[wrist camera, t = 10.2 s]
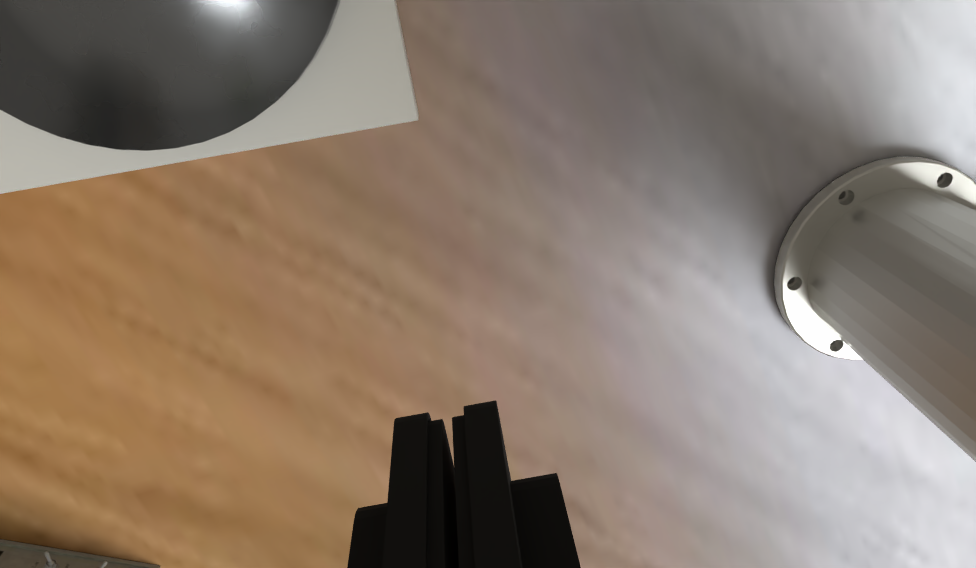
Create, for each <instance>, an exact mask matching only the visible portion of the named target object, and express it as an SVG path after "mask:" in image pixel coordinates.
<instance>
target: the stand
mask: <svg viewBox="0 0 976 568" xmlns="http://www.w3.org/2000/svg"><path fill="white" fill-rule="evenodd" d="M418 117H419V113H418V108H417V103H416V98H415V93H414V88H413V83H412V78H411V73H410V68H409V63H408V58H407V53H406V48H405V43H404V38H403V33H402V28H401V23H400V18H399V13H398V8H397V3H396V0H341V1H340V5H339V7H338V10H337V13H336V15H335V18H334V21H333V23H332V26H331V29H330V31H329V33H328V35H327V37H326V39H325V41H324V43H323V45H322V46H321V48H320V50H319V52H318V54H317V56H316V57H315V59H314V60H313V61H312V63H311V64H310V65H309V67H308V68H307V69H306V71H305V72H304V74H303V75H302V76H301V78H300V79H299V80H298V81H297V82H296V83H295V84H294V85H293V86H292V87H291V88H290V89H289V90H288V91H287V92H286V93H285V94H284V95H283V96H282V97H281V98H280V99H279V100H278V101H276V102H275V103H274V104H273V105H271V106H270V107H269V108H267V109H266V110H265V111H263V112H262V113H261V114H259V115H258V116H257V117H256V118H254V119H253V120H251V121H249V122H247V123H246V124H244V125H242V126H240V127H238V128H236V129H235V130H233V131H231V132H229V133H226V134H224V135H221V136H218V137H216V138H213V139H210V140H208V141H205V142H202V143H197V144H193V145H189V146H184V147H180V148H174V149H162V150H151V151H140V150H117V149H111V148H105V147H99V146H92V145H87V144H83V143H80V142H76V141H73V140H69V139H66V138H62V137H58V136H56V135H53V134H51V133H48V132H46V131H43V130H41V129H38V128H36V127H33V126H31V125H28V124H26V123H24V122H22V121H21V120H19V119H17V118H15V117H13V116H11V115H9V114H7V113H5V112H3V111H2V110H0V194H2V193H7V192H13V191H19V190H24V189H30V188H36V187H42V186H47V185H53V184H59V183H64V182H70V181H76V180H81V179H87V178H93V177H98V176H104V175H110V174H115V173H121V172H127V171H132V170H138V169H144V168H149V167H155V166H161V165H166V164H172V163H178V162H184V161H189V160H195V159H201V158H206V157H212V156H218V155H223V154H229V153H235V152H240V151H246V150H252V149H257V148H263V147H269V146H274V145H280V144H286V143H291V142H297V141H303V140H309V139H314V138H320V137H326V136H331V135H337V134H343V133H348V132H354V131H360V130H365V129H371V128H377V127H382V126H388V125H394V124H399V123H405V122H411V121H416V120H418Z"/></svg>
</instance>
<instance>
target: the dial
mask: <svg viewBox="0 0 976 568" xmlns="http://www.w3.org/2000/svg"><path fill="white" fill-rule="evenodd" d="M340 1H341V0H0V110H2V111H3V112H5V113H7V114H9V115H11V116H13V117H15V118H17V119H19V120H21V121H22V122H24V123H26V124H28V125H31V126H33V127H36V128H38V129H41V130H43V131H46V132H48V133H51V134H53V135H56V136H58V137H62V138H66V139H69V140H73V141H76V142H80V143H83V144H87V145H92V146H99V147H105V148H111V149H117V150H140V151H151V150H162V149H174V148H180V147H184V146H189V145H193V144H197V143H202V142H205V141H208V140H210V139H213V138H216V137H218V136H221V135H224V134H226V133H229V132H231V131H233V130H235V129H236V128H238V127H240V126H242V125H244V124H246V123H247V122H249V121H251V120H253V119H254V118H256V117H257V116H258V115H259V114H261V113H262V112H263V111H265V110H266V109H267V108H269V107H270V106H271V105H273V104H274V103H275V102H276V101H278V100H279V99H280V98H281V97H282V96H283V95H284V94H285V93H286V92H287V91H288V90H289V89H290V88H291V87H292V86H293V85H294V84H295V83H296V82H297V81H298V80H299V79H300V78H301V76H302V75H303V74H304V72H305V71H306V69H307V68H308V67H309V65H310V64H311V63H312V61H313V60H314V59H315V57H316V56H317V54H318V52H319V50H320V48H321V46H322V45H323V43H324V41H325V39H326V37H327V35H328V33H329V31H330V29H331V26H332V23H333V21H334V18H335V15H336V13H337V10H338V7H339V5H340Z"/></svg>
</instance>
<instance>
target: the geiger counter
mask: <svg viewBox="0 0 976 568" xmlns="http://www.w3.org/2000/svg"><path fill="white" fill-rule="evenodd" d="M0 568H160V566H159V565H154V564H148V563H142V562H136V561H130V560H124V559H118V558H112V557H105V556H99V555H93V554H87V553H81V552H75V551H69V550H63V549H57V548H51V547H45V546H39V545H32V544H26V543H20V542H14V541H8V540H2V539H0Z"/></svg>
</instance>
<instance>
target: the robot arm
mask: <svg viewBox="0 0 976 568" xmlns="http://www.w3.org/2000/svg"><path fill="white" fill-rule="evenodd" d="M774 288H775V295H776V302H777V304H778V307H779V309H780V312H781V314H782V317H783V318H784V320H785V321H786V322H787V324H788V325H789V327H790V328H791V330H792V331H793V332H795V333H796V334H797V335H798V336H799V337H800V338H801V339H802V340H803V341H804V342H805V343H806V344H808V345H809V346H811V347H812V348H814V349H815V350H817V351H819V352H821V353H824V354H826V355H828V356H831V357H836V358H842V359H848V360H864V361H865V362H866V363H867V364H868V365H870V366H871V367H872V368H873V369H874V370H875V371H876V372H877V373H878V374H880V375H881V376H882V377H883V378H884V379H885V380H886V381H887V382H888V383H889V384H891V385H892V386H893V387H894V388H895V389H896V390H897V391H898V392H899V393H900V394H902V395H903V396H904V397H905V398H906V399H907V400H908V401H909V402H910V403H911V404H913V405H914V406H915V407H916V408H917V409H918V410H919V411H920V412H921V413H923V414H924V415H925V416H926V417H927V418H928V419H929V420H930V421H931V422H932V423H934V424H935V425H936V426H937V427H938V428H939V429H940V430H941V431H942V432H943V433H945V434H946V435H947V436H948V437H949V438H950V439H951V440H952V441H953V442H954V443H956V444H957V445H958V446H959V447H960V448H961V449H962V450H963V451H964V452H966V453H967V454H968V455H969V456H970V457H971V458H972V459H973V460H974V461H975V462H976V183H975V182H974V181H973V179H972V178H970V177H969V176H967V175H966V174H964V173H963V172H961V171H960V170H958V169H957V168H954V167H952V166H949V165H947V164H944V163H942V162H939V161H936V160H931V159H927V158H923V157H902V156H899V157H893V158H887V159H882V160H877V161H874V162H871V163H868V164H866V165H863V166H860V167H857V168H855V169H853V170H852V171H850V172H848V173H846V174H844V175H842V176H841V177H839V178H837V179H835V180H834V181H833V182H832V183H830V184H829V185H828V186H826V187H825V188H824V189H823V190H821V191H820V192H819V193H817V195H816V196H815V197H814V198H813V199H812V200H811V201H810V202H809V203H808V204H807V205H806V206H805V207H804V208H803V209H802V210H801V212H800V213H799V215H798V216H797V218H796V219H795V221H794V222H793V223H792V225H791V226H790V228H789V230H788V232H787V234H786V236H785V238H784V240H783V243H782V245H781V247H780V250H779V254H778V258H777V261H776V265H775V277H774ZM452 426H453V448H454V465H453V461H452V456H451V452H450V447H449V443H448V439H447V434H446V430H445V426H444V422H443V420H442V419H440V420H434V421H431V418H430V415H429V413H423V414H417V415H411V416H406V417H400V418H396V419H395V421H394V431H393V443H392V455H391V467H390V479H389V492H388V503H384V504H379V505H373V506H367V507H362V508H358V510H357V511H356V514H355V518H354V524H353V532H352V539H351V546H350V553H349V560H348V567H347V568H581V567H580V563H579V559H578V555H577V551H576V547H575V543H574V539H573V535H572V531H571V527H570V523H569V519H568V515H567V511H566V507H565V503H564V499H563V495H562V491H561V487H560V483H559V479H558V476H557V473H554V474H548V475H543V476H537V477H531V478H526V479H520V480H514V481H511V478H510V472H509V467H508V461H507V456H506V451H505V445H504V440H503V434H502V429H501V424H500V418H499V413H498V407H497V402H496V401H491V402H485V403H479V404H474V405H468V406H464V415H463V416H457V417H453V418H452Z"/></svg>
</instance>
